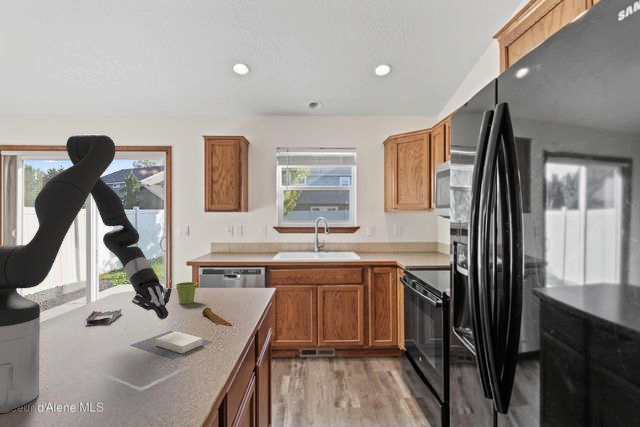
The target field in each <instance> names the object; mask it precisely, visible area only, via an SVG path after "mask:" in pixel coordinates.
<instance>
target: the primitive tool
mask: <svg viewBox="0 0 640 427" xmlns="http://www.w3.org/2000/svg"><path fill="white" fill-rule="evenodd" d="M201 313H202V315H203V317H207V319H209V320H210V321H211V322H212V324H215V326H226V327H233V324H232V323H230V322H229V321H227V320H225V319H224V318H222V317H220V316H219V315H217V314H216V313H214V312H213V311H212V309H211V308H210V307H205V308H204V309H203V310H202V312H201Z"/></svg>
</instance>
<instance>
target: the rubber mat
mask: <svg viewBox="0 0 640 427" xmlns="http://www.w3.org/2000/svg"><path fill="white" fill-rule="evenodd" d="M173 332H174V331H173V330H169V331H166V332H164V333H161V334H158V335H155V336H152V337H150V338H146V339H143V340H141V341H137V342H135V343H132V344H129V346H131V347H134V348H136V349H140V350H143V351H146V352H149V353H152V354H155V355H158V356H161V357H164V358H167V359H171V360H176V359H178V358H180V357H182V356H185V355H186V354H189V353H191V352H193V351H196V350H198V349H200V348H203V347H205V346H207V345H209V344H212V343H213V341H210V340H208V339H204V338H202V345H201V346H198V347H196V348H194V349H192V350H189V351H187V352H185V353H179V352H176V351H172V350H169V349H166V348H163V347H159V346H156V338H159V337H162V336H164V335H167V334H170V333H173Z"/></svg>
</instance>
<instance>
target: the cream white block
mask: <svg viewBox="0 0 640 427" xmlns="http://www.w3.org/2000/svg"><path fill="white" fill-rule="evenodd" d="M202 339H203V338H202V337H199V336H195V335H192V334H188V333H183V332H179V331H173V333H170V334H167V335H164V336H162V337H159V338H156V346H159V347H163V348H166V349H169V350H172V351H176V352H179V353H185V352H187V351H189V350H192V349H194V348H196V347H198V346H201V345H202Z"/></svg>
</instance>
